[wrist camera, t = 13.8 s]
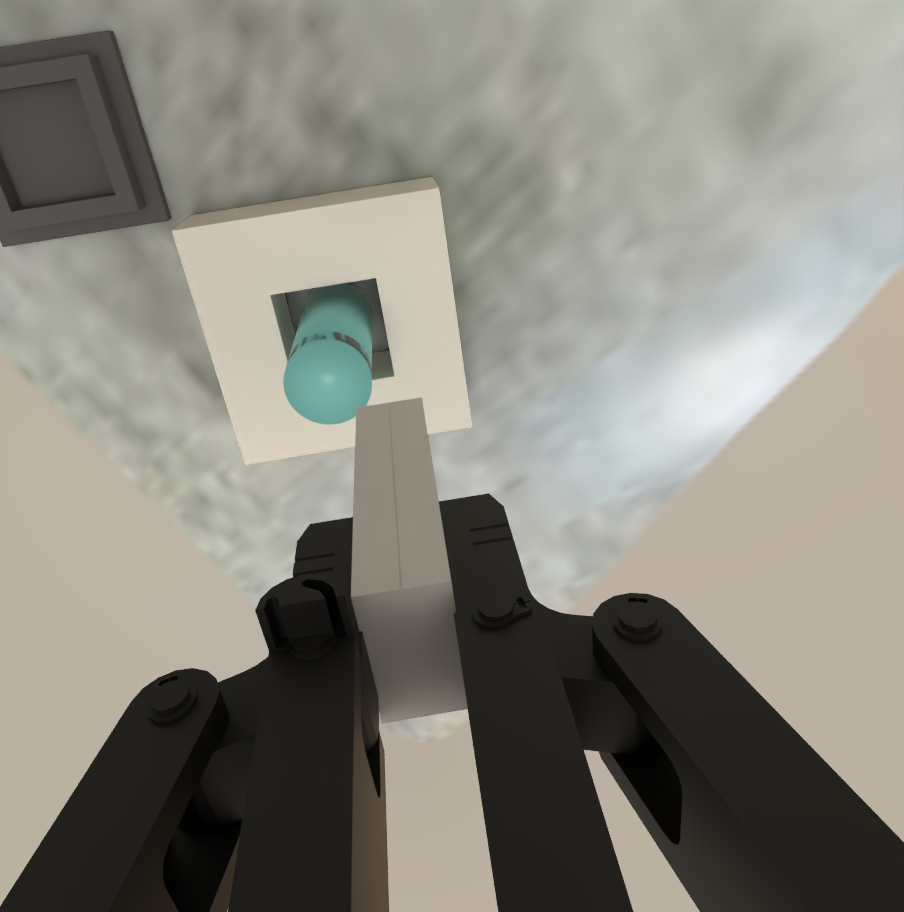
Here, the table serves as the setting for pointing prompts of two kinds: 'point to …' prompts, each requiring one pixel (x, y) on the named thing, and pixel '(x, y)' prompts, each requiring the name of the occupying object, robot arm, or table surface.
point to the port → (316, 265)
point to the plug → (331, 355)
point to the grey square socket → (72, 143)
